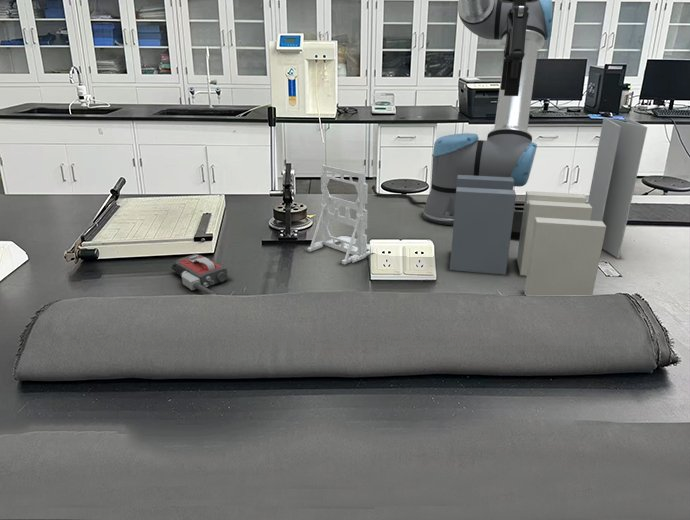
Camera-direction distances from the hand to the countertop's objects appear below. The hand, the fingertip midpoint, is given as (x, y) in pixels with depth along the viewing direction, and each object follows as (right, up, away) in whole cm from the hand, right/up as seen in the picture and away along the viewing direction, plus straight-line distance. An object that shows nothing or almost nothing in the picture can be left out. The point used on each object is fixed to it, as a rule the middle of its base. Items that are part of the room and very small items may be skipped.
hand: (508, 92), depth 113 cm
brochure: (+28, -32, +18) cm, 46 cm away
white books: (+10, -38, +5) cm, 39 cm away
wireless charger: (+12, -27, +30) cm, 43 cm away
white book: (+7, -43, -8) cm, 44 cm away
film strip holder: (-35, -33, +16) cm, 51 cm away
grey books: (-5, -36, +8) cm, 38 cm away
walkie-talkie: (-64, -41, -1) cm, 76 cm away
